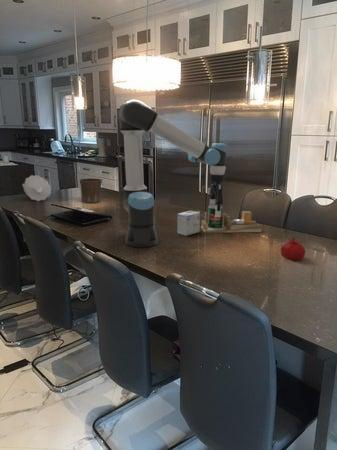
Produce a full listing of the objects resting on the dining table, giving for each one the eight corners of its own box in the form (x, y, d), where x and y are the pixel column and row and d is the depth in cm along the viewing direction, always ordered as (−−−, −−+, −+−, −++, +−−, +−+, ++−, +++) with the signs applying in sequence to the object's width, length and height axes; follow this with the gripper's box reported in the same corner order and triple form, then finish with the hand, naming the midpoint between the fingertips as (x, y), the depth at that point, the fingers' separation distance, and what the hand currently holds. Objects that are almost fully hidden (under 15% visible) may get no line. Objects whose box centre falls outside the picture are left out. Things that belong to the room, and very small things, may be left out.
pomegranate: (291, 264, 151) (293, 242, 148) (275, 256, 160) (276, 235, 157) (310, 260, 155) (312, 239, 152) (293, 252, 163) (295, 232, 161)
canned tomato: (217, 224, 204) (218, 204, 201) (225, 227, 197) (226, 207, 194) (204, 225, 201) (205, 205, 198) (212, 229, 194) (212, 208, 191)
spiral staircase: (40, 201, 291) (47, 205, 269) (18, 192, 282) (22, 196, 260) (49, 179, 291) (56, 182, 269) (27, 170, 282) (32, 172, 260)
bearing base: (261, 231, 197) (262, 217, 194) (204, 232, 193) (205, 217, 191) (255, 226, 206) (256, 212, 204) (201, 227, 203) (201, 213, 201)
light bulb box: (190, 229, 199) (191, 210, 197) (200, 232, 195) (200, 212, 192) (176, 233, 192) (177, 213, 189) (186, 236, 188) (186, 215, 185)
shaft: (250, 227, 198) (251, 212, 196) (234, 227, 198) (235, 212, 195) (248, 225, 202) (249, 211, 200) (232, 225, 201) (233, 211, 199)
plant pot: (92, 198, 281) (91, 177, 277) (107, 201, 272) (106, 179, 268) (75, 202, 268) (74, 179, 264) (90, 204, 259) (89, 181, 255)
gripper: (230, 177, 180) (227, 219, 185) (218, 171, 204) (216, 209, 209) (215, 176, 179) (212, 219, 184) (205, 171, 203) (203, 209, 208)
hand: (214, 214), depth 197 cm, fingers open, 13 cm apart
